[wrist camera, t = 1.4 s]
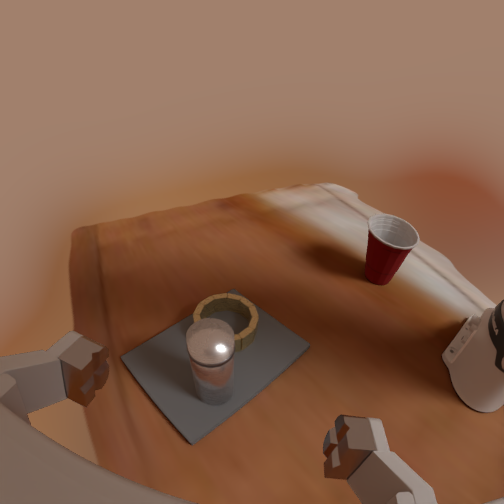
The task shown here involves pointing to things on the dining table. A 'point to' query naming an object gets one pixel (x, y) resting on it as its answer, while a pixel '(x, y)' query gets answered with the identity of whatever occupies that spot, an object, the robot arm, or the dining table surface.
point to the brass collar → (235, 305)
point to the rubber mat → (181, 377)
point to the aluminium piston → (212, 360)
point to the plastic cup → (387, 246)
